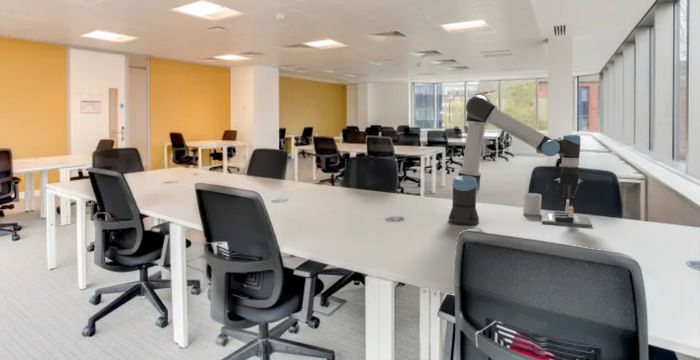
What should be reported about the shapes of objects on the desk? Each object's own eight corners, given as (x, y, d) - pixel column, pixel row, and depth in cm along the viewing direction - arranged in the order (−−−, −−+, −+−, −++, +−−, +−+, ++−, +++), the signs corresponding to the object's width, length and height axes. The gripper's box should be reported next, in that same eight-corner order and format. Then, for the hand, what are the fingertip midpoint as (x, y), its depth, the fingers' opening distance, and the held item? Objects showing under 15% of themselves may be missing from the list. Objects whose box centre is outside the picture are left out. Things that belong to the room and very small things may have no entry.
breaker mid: (566, 214, 212) (567, 206, 212) (566, 213, 215) (567, 205, 214) (571, 214, 211) (572, 206, 211) (571, 213, 214) (571, 205, 213)
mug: (540, 216, 225) (541, 196, 224) (522, 214, 229) (523, 195, 228) (541, 212, 236) (542, 192, 234) (524, 210, 240) (525, 191, 238)
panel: (542, 223, 210) (542, 216, 209) (541, 216, 226) (542, 209, 225) (592, 227, 201) (592, 220, 200) (588, 219, 217) (588, 213, 216)
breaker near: (568, 217, 207) (568, 208, 206) (567, 215, 209) (568, 207, 209) (573, 217, 206) (573, 208, 205) (572, 216, 208) (573, 207, 208)
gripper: (555, 166, 204) (552, 213, 207) (585, 167, 199) (582, 215, 202) (555, 164, 211) (552, 210, 214) (584, 165, 205) (580, 212, 209)
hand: (566, 212), depth 208 cm, fingers closed
